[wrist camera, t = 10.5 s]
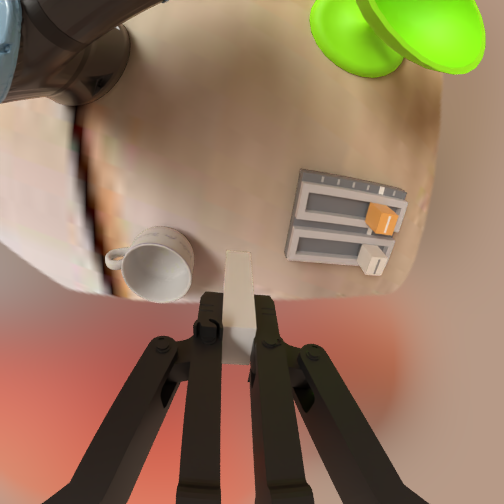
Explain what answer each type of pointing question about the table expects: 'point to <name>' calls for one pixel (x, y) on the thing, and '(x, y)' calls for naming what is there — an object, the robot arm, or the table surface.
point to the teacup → (156, 264)
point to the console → (338, 218)
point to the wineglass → (399, 34)
